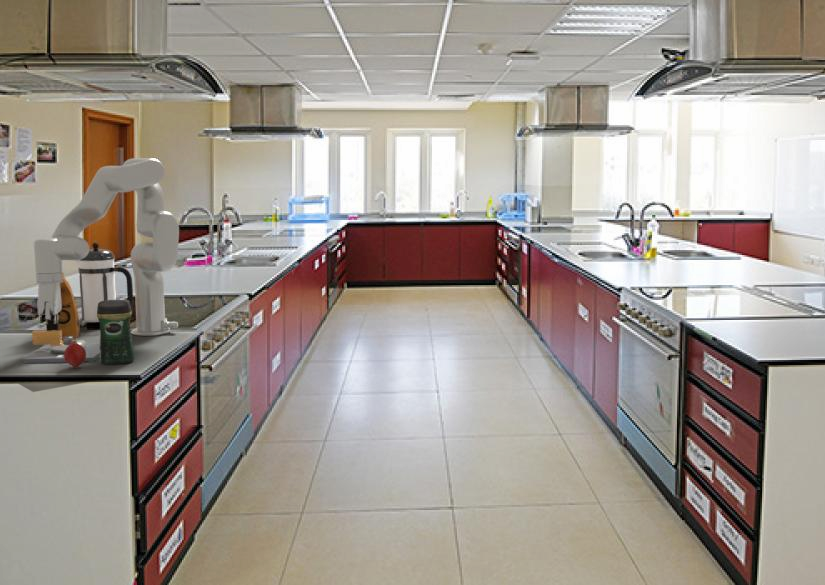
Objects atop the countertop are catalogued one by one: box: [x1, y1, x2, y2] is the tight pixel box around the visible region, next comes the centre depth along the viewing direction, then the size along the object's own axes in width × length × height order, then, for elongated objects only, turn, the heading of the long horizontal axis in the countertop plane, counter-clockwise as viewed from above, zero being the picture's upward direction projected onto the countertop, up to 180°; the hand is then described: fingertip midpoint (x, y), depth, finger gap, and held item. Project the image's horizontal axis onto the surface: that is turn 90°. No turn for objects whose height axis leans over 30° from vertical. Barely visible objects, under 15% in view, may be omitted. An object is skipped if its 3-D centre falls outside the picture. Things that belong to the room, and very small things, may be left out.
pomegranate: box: [64, 341, 86, 369], centre depth 227 cm, size 6×6×8 cm
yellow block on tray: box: [31, 329, 87, 354], centre depth 242 cm, size 15×10×6 cm, turn 96°
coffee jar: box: [97, 299, 135, 365], centre depth 233 cm, size 10×8×19 cm
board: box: [22, 342, 100, 364], centre depth 243 cm, size 20×20×2 cm
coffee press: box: [74, 242, 134, 327], centre depth 291 cm, size 17×16×30 cm
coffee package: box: [58, 272, 81, 339], centre depth 268 cm, size 10×12×22 cm
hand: (53, 335), depth 248 cm, fingers closed
